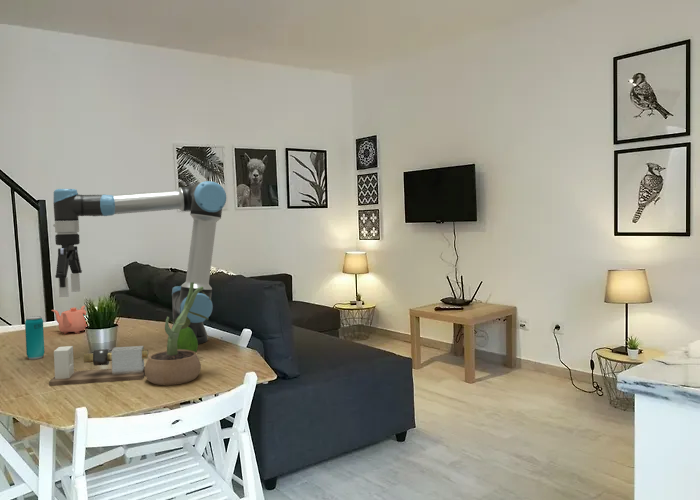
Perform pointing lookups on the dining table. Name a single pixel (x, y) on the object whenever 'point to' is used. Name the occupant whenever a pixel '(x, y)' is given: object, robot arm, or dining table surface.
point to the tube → (104, 357)
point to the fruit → (187, 340)
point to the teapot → (71, 320)
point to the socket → (63, 362)
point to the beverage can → (34, 337)
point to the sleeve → (127, 360)
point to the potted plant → (175, 352)
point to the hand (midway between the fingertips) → (70, 294)
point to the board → (96, 377)
